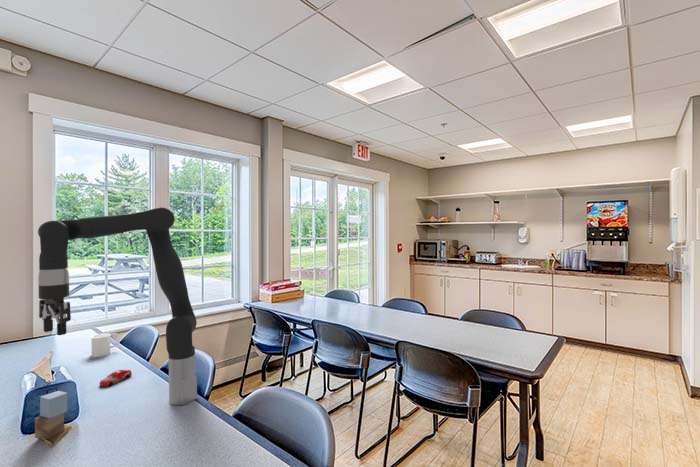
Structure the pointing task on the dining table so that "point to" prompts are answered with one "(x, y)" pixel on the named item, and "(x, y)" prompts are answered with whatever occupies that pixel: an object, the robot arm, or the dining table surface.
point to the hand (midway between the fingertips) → (54, 333)
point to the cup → (102, 344)
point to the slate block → (53, 404)
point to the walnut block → (48, 426)
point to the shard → (57, 436)
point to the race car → (115, 377)
